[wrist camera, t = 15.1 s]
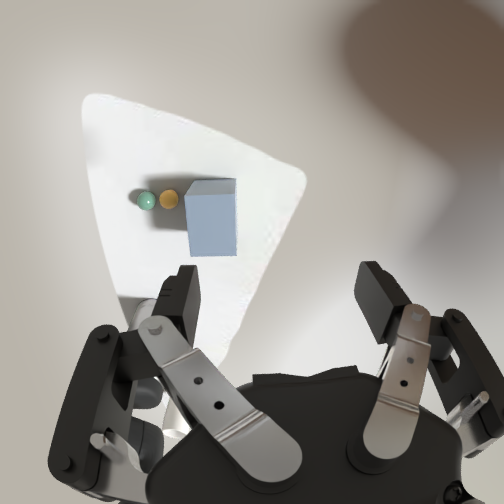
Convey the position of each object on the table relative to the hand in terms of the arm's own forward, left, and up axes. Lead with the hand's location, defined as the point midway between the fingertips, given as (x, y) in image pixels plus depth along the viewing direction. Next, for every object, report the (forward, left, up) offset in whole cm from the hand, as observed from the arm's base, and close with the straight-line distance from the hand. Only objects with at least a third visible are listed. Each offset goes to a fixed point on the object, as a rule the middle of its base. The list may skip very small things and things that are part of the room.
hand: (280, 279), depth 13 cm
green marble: (-5, +17, -29) cm, 34 cm away
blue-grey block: (-7, +6, -30) cm, 31 cm away
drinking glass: (-58, +20, -30) cm, 68 cm away
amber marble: (-5, +13, -29) cm, 32 cm away
